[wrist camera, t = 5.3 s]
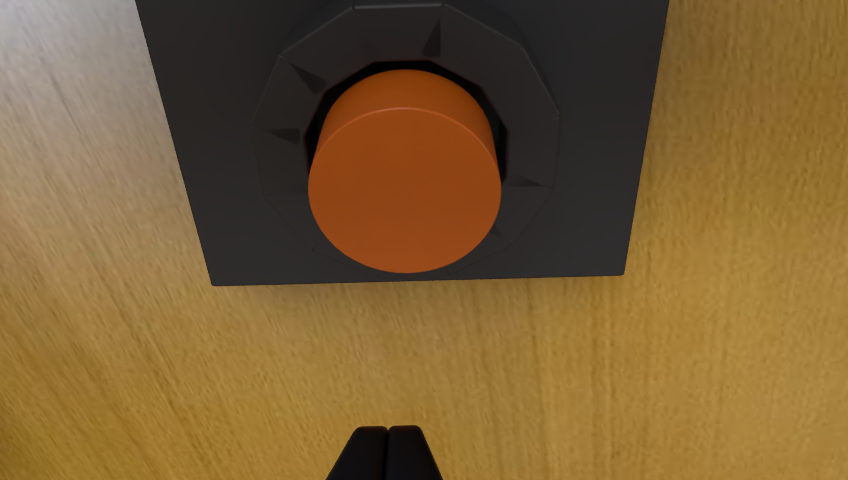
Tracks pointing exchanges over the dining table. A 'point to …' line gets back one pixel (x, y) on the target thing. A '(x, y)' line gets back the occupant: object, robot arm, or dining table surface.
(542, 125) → the switch base
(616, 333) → the dining table surface
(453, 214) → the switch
